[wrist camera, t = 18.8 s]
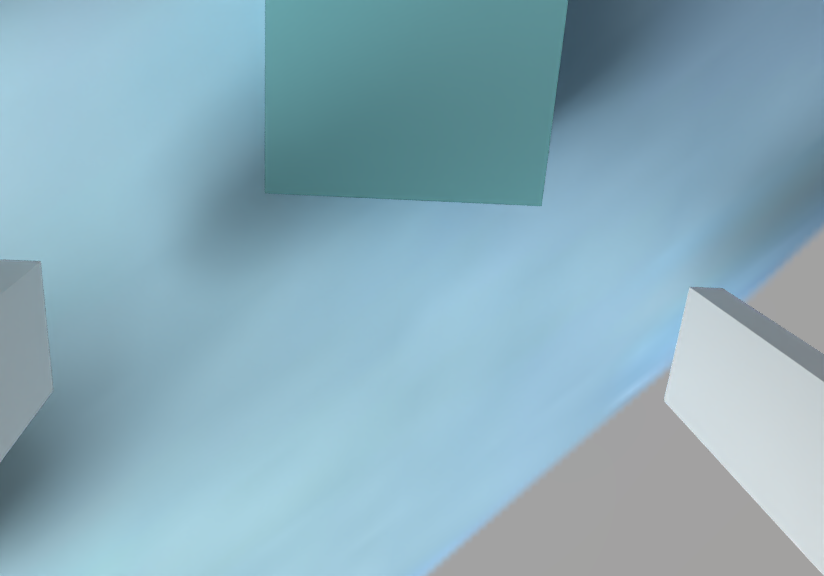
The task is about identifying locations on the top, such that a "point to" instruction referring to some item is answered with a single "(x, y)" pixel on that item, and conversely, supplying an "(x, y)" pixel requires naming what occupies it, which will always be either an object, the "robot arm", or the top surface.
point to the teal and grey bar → (411, 98)
